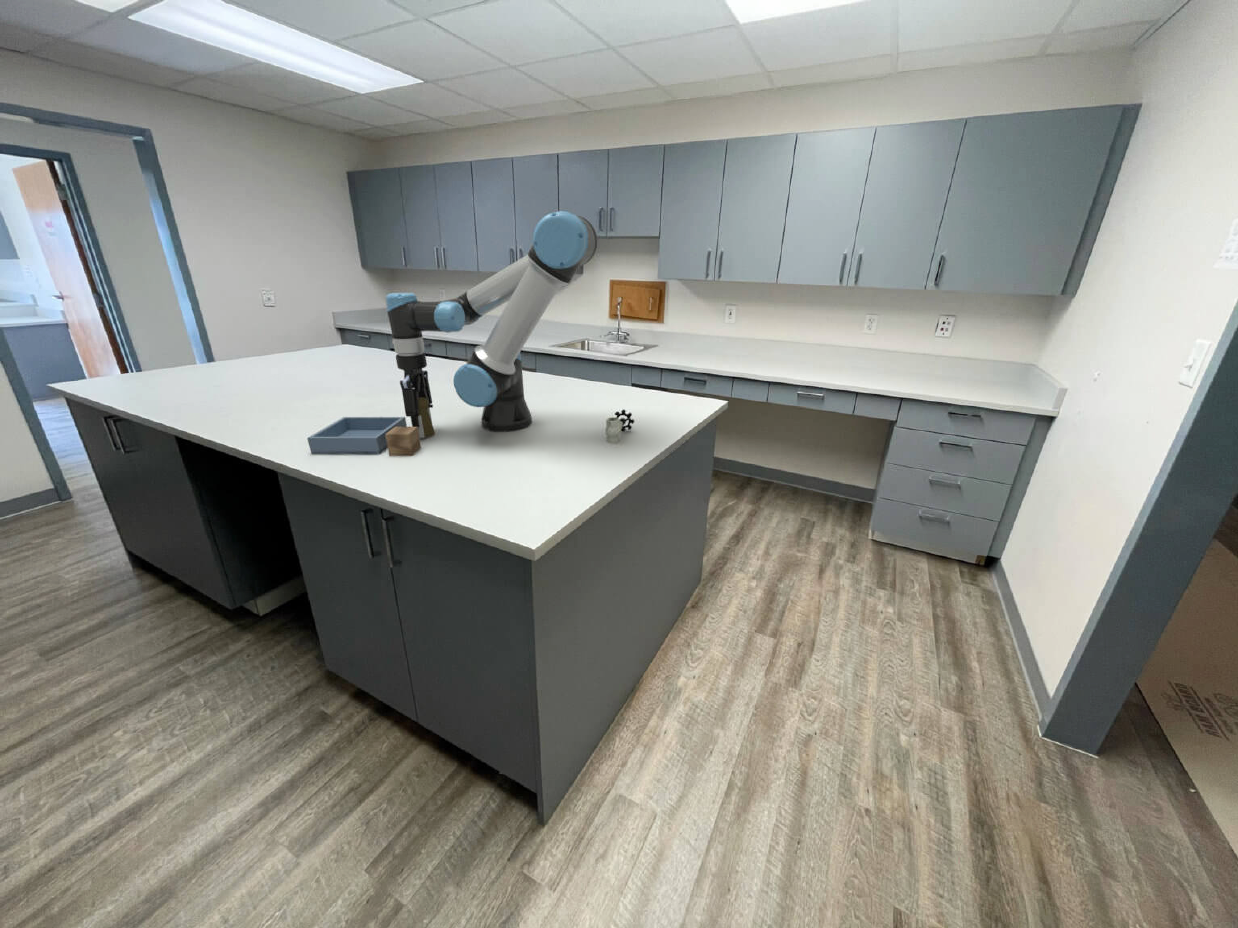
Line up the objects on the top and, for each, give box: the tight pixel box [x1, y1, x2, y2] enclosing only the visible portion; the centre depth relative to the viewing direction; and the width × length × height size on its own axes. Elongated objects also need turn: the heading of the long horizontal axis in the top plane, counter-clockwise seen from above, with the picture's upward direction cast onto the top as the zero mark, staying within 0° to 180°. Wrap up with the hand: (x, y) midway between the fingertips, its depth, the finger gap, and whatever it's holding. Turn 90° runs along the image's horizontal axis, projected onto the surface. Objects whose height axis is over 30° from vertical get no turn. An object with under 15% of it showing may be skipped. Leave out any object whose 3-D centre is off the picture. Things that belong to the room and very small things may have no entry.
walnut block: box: [385, 426, 422, 457], centre depth 128 cm, size 6×6×6 cm
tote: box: [306, 416, 408, 455], centre depth 135 cm, size 18×18×4 cm
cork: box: [418, 397, 436, 439], centre depth 139 cm, size 6×6×11 cm
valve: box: [605, 409, 636, 445], centre depth 138 cm, size 7×7×12 cm
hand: (423, 433), depth 141 cm, fingers closed on cork, 6 cm apart
